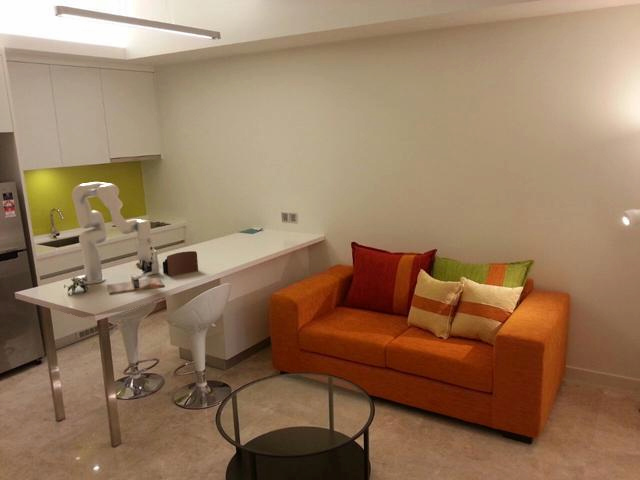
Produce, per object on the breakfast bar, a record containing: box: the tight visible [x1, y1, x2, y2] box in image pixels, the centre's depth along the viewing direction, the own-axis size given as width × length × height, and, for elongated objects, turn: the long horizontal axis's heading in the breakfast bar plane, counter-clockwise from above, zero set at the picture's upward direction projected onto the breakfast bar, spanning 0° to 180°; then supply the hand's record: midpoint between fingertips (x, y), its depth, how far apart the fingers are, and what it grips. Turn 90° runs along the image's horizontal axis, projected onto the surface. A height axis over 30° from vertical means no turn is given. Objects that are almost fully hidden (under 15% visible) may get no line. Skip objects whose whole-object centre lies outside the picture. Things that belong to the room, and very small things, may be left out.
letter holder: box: [162, 250, 199, 277], centre depth 346 cm, size 10×20×14 cm, turn 125°
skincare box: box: [149, 249, 160, 276], centre depth 345 cm, size 8×6×15 cm
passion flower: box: [63, 276, 90, 295], centre depth 308 cm, size 11×11×12 cm
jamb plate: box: [106, 273, 165, 296], centre depth 317 cm, size 30×18×6 cm, turn 115°
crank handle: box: [132, 261, 153, 280], centre depth 315 cm, size 14×4×8 cm, turn 158°
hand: (147, 271), depth 320 cm, fingers closed on crank handle, 3 cm apart
